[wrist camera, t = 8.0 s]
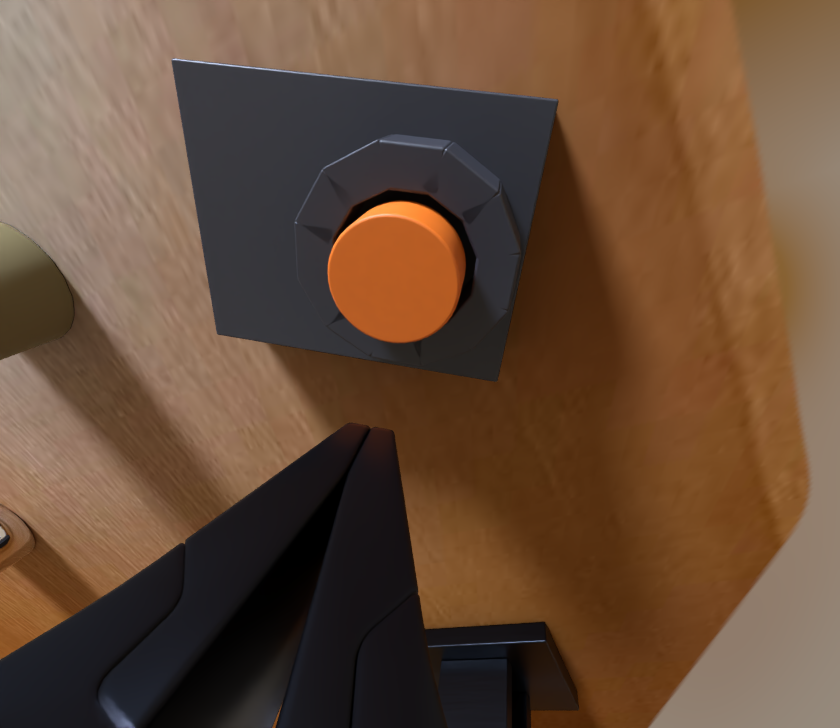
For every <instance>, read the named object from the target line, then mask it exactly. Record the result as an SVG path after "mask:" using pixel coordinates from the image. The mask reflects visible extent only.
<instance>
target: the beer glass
mask: <svg viewBox="0 0 840 728" xmlns="http://www.w3.org/2000/svg"><path fill="white" fill-rule="evenodd" d="M34 545H35V540H34V536H33V534H32V532H31V531H30V529H29V528H28V526H27V525H26V524H25V523H24V522H23V521H22V520H21V519H20V518H19V517H18V516H16V515H15V514H14V513H12V512H11V511H10V510H8V509H7V508H5V507H3V506H2V505H0V573H2V572H3V571H5V570H6V569H7V568H9V567H10V566H12V565H13V564H15V563H16V562H17V561H19V560H20V559H22V558H23V557H24V556H26V555H27V554H28V553H29V552H31V551H32V549H33V548H34Z"/></svg>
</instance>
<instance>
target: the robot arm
mask: <svg viewBox="0 0 840 728" xmlns="http://www.w3.org/2000/svg"><path fill="white" fill-rule="evenodd" d="M282 702H283V703H282ZM281 705H282V707H281ZM280 707H281V710H280ZM279 710H280V714H279V717H278V721H277V725H276V728H448V726H447V722H446V719H445V715H444V712H443V708H442V704H441V700H440V696H439V692H438V688H437V684H436V681H435V676H434V672H433V668H432V664H431V660H430V655H429V650H428V644H427V639H426V634H425V628H424V623H423V617H422V610H421V604H420V597H419V595H418V586H417V579H416V572H415V566H414V559H413V553H412V546H411V540H410V533H409V527H408V520H407V513H406V507H405V500H404V494H403V487H402V481H401V474H400V467H399V461H398V454H397V448H396V441H395V435H394V432H393V431H392V430H389V429H383V428H378V427H373V428H370V427H369V426H367V425H361V424H356V423H348V424H346V425H344V426H343V427H342V428H340V429H339V430H337V431H336V432H335V433H333V434H332V435H330V436H329V437H328V438H326V439H325V440H324V441H322V442H321V443H319V444H318V445H317V446H315V447H314V448H312V449H311V450H310V451H308V452H307V453H305V454H304V455H303V456H301V457H300V458H299V459H297V460H296V461H294V462H293V463H292V464H290V465H289V466H287V467H286V468H285V469H283V470H282V471H280V472H279V473H278V474H276V475H275V476H273V477H272V478H271V479H269V480H268V481H267V482H265V483H264V484H262V485H261V486H260V487H258V488H257V489H255V490H254V491H253V492H251V493H250V494H248V495H247V496H246V497H244V498H243V499H242V500H240V501H239V502H237V503H236V504H235V505H233V506H232V507H230V508H229V509H228V510H226V511H225V512H223V513H222V514H221V515H219V516H218V517H217V518H215V519H214V520H212V521H211V522H210V523H208V524H207V525H205V526H204V527H203V528H201V529H200V530H198V531H197V532H196V533H194V534H193V535H192V536H190V537H189V538H187V539H186V541H185V544H183V543H180V544H179V545H177V546H176V547H175V548H173V549H172V550H170V551H169V552H168V553H166V554H165V555H163V556H162V557H161V558H159V559H158V560H156V561H155V562H153V563H152V564H151V565H149V566H148V567H146V568H145V569H143V570H142V571H140V572H139V573H138V574H136V575H135V576H133V577H132V578H130V579H129V580H127V581H126V582H124V583H123V584H122V585H120V586H119V587H117V588H115V589H114V590H112V591H111V592H109V593H108V594H106V595H104V596H103V597H101V598H100V599H98V600H97V601H95V602H93V603H92V604H90V605H89V606H87V607H86V608H84V609H82V610H81V611H79V612H78V613H76V614H74V615H73V616H71V617H70V618H68V619H66V620H65V621H63V622H61V623H60V624H58V625H57V626H55V627H53V628H52V629H50V630H48V631H47V632H45V633H43V634H42V635H40V636H38V637H37V638H35V639H34V640H32V641H30V642H29V643H27V644H25V645H24V646H22V647H20V648H19V649H17V650H16V651H14V652H12V653H11V654H9V655H7V656H6V657H4V658H2V659H1V660H0V728H272V726H273V724H274V722H275V719H276V717H277V714H278V712H279Z"/></svg>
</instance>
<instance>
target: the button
mask: <svg viewBox="0 0 840 728" xmlns="http://www.w3.org/2000/svg"><path fill="white" fill-rule="evenodd" d="M465 271H466V257H465V252H464V248H463V245H462V241H461V239H460V237H459V235H458V233H457V232H456V230H455V229H454V227H453V226H452V225H451V223H450V222H449V221H448V220H447V219H446V218H445V217H444V216H443V215H441V214H440V213H439V212H437V211H436V210H434V209H433V208H431V207H429V206H427V205H424V204H421V203H418V202H414V201H408V200H395V201H389V202H385V203H382V204H379V205H377V206H375V207H373V208H371V209H370V210H368V211H367V212H366V213H365V214H363V215H362V216H361V217H360V218H358V219H357V220H356V221H355V222H354V223H352V224H351V225H350V226H349V227H347V228H346V229H345V230H344V231H343V232H342V234H341V235H340V236H339V237H338V239H337V240H336V242H335V244H334V246H333V248H332V251H331V254H330V257H329V262H328V282H329V287H330V291H331V294H332V297H333V299H334V301H335V303H336V305H337V307H338V309H339V310H340V312H341V313H342V314H343V316H344V317H345V318H346V319H347V320H348V321H349V322H350V323H351V324H352V325H353V326H354V327H356V328H357V329H358V330H360V331H361V332H363V333H364V334H366V335H368V336H370V337H372V338H375V339H378V340H381V341H385V342H390V343H409V342H415V341H418V340H422V339H424V338H426V337H429V336H430V335H432V334H434V333H436V332H437V331H438V330H439V329H441V328H442V327H443V326H444V325H445V324H446V323H447V322H448V320H449V319H450V318H451V316H452V315H453V313H454V311H455V309H456V306H457V304H458V301H459V297H460V293H461V289H462V285H463V281H464V277H465Z"/></svg>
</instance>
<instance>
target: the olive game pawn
mask: <svg viewBox="0 0 840 728" xmlns="http://www.w3.org/2000/svg"><path fill="white" fill-rule="evenodd" d="M73 317H74V308H73V301H72V296H71V293H70V291H69V289H68V286H67V284H66V282H65V279H64V277H63V276H62V274H61V273H60V271H59V270H58V269H57V267H56V266H55V264H54V263H53V262H52V260H51V259H50V257H49V256H48V255H47V254H46V253H45V252H44V251H42V250H41V249H40V248H39V247H38V246H37V245H36V244H35V243H34V242H33V241H32V240H31V239H30V238H28V237H27V236H25V235H24V234H22V233H21V232H19V231H17V230H16V229H14V228H13V227H11V226H10V225H7V224H4V223H2V222H0V360H1V359H4V358H7V357H10V356H12V355H15V354H18V353H20V352H23V351H26V350H28V349H31V348H34V347H36V346H39V345H42V344H45V343H47V342H50V341H53V340H55V339H58V338H61V337H62V336H63V335H64V334H65V333H66V332H67V331H68V330H69V329H70V328H71V325H72V321H73Z"/></svg>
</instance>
